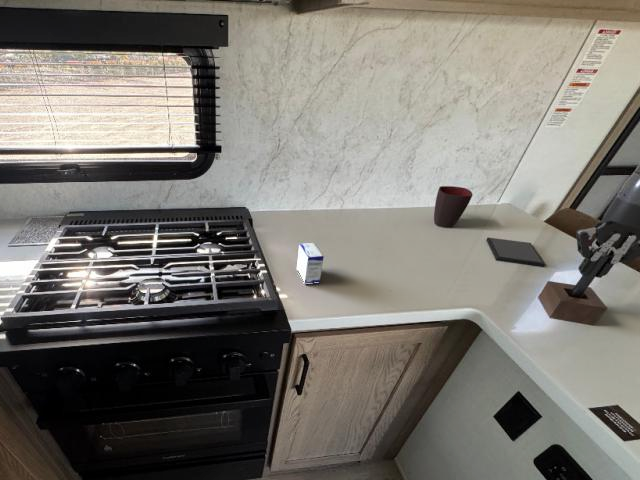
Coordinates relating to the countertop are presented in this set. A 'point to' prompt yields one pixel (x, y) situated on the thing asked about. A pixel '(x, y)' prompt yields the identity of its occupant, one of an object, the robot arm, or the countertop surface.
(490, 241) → the tablet
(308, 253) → the box
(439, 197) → the cup
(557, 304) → the pen holder
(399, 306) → the countertop surface
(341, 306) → the countertop surface
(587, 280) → the stylus
